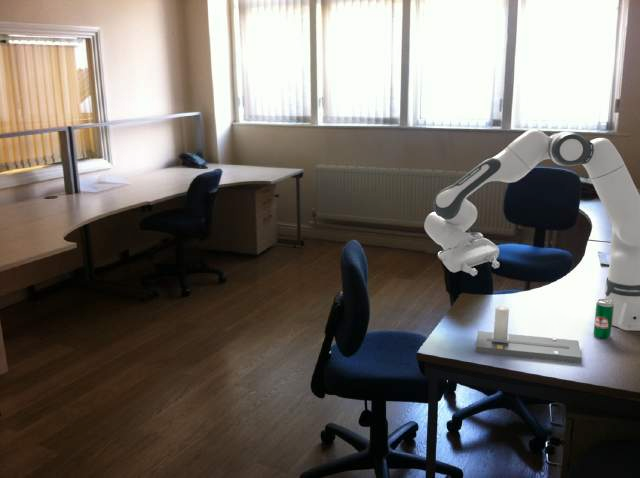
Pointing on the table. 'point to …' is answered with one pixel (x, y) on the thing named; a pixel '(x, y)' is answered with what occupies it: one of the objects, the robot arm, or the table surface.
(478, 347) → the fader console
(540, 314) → the table surface
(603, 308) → the soda can
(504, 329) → the fader knob
